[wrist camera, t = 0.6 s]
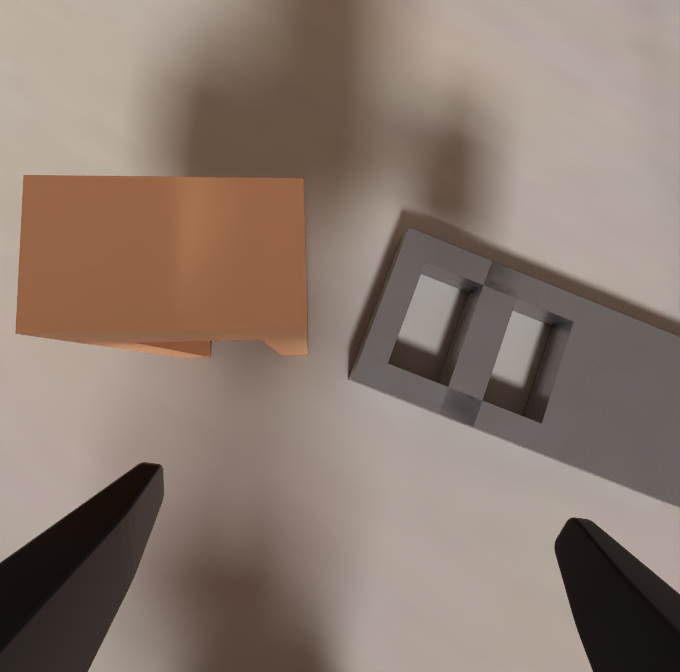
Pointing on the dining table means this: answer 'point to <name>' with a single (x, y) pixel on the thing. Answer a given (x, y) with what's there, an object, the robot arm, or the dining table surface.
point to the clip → (163, 262)
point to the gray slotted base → (553, 374)
